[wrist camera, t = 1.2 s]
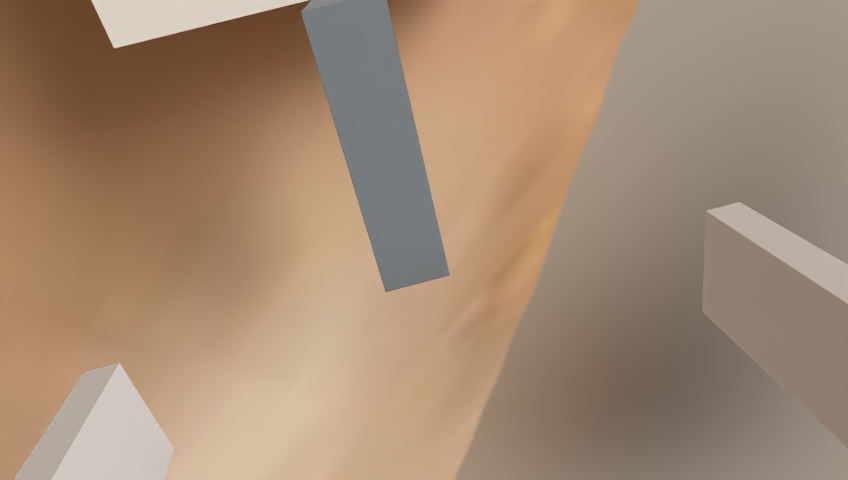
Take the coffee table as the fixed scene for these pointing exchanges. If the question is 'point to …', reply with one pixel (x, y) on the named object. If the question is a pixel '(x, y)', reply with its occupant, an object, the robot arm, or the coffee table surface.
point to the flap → (338, 113)
